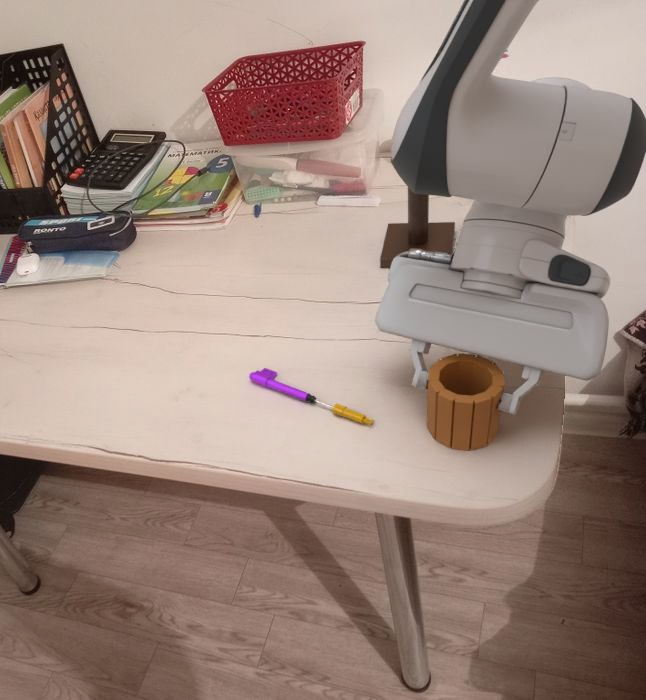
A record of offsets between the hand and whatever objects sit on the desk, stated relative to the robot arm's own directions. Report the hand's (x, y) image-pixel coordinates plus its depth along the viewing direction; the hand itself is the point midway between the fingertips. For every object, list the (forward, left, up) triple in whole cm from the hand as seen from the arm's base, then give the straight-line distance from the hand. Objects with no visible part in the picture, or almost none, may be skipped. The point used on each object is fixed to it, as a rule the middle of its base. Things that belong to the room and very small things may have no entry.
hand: (462, 400), depth 61 cm
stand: (+7, -32, -4) cm, 33 cm away
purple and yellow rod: (+16, -3, -5) cm, 17 cm away
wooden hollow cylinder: (0, -1, -4) cm, 4 cm away
